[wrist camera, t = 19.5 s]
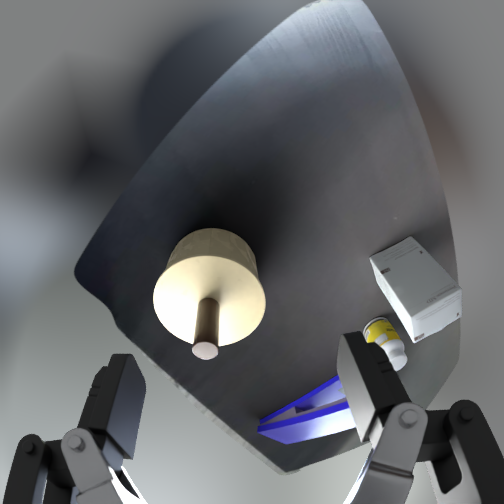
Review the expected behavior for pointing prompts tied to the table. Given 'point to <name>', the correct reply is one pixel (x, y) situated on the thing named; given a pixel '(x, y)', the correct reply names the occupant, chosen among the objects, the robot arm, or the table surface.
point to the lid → (209, 301)
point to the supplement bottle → (386, 340)
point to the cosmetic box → (417, 288)
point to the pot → (215, 247)
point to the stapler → (310, 415)
